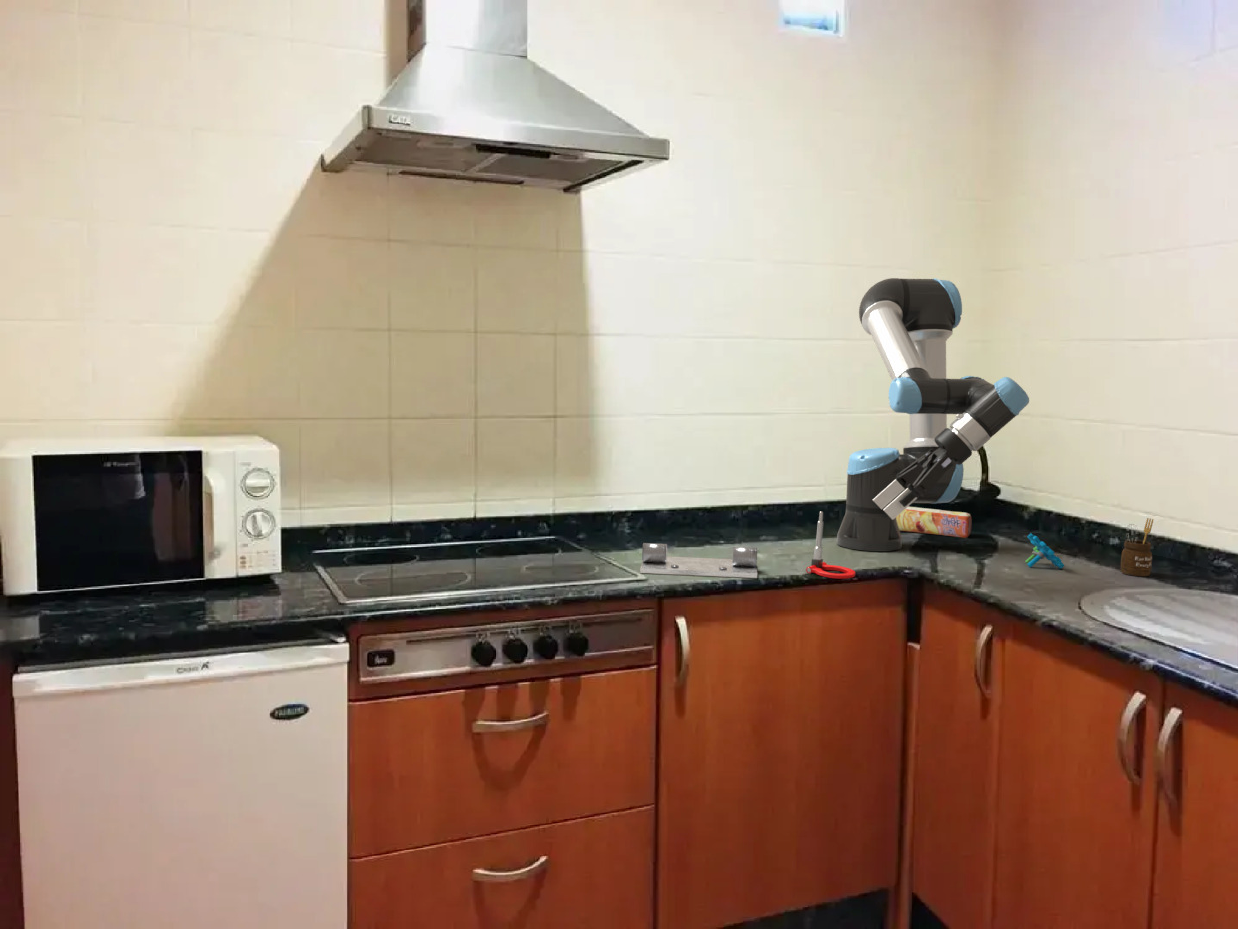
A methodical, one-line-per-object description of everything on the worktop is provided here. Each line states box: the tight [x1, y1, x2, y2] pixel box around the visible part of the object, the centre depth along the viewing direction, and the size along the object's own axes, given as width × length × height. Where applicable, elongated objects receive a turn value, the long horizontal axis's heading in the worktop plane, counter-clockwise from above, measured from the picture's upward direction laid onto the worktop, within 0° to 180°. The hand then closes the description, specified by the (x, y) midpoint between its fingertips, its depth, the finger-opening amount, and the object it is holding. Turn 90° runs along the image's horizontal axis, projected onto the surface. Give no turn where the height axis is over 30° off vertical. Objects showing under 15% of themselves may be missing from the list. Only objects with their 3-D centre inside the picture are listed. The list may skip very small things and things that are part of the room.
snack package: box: [896, 506, 973, 539], centre depth 266 cm, size 21×7×7 cm, turn 62°
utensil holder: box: [1120, 517, 1154, 577], centre depth 221 cm, size 6×6×12 cm
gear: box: [1025, 532, 1065, 570], centre depth 227 cm, size 11×6×10 cm
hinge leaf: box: [639, 542, 758, 579], centre depth 217 cm, size 13×24×5 cm, turn 84°
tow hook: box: [805, 511, 856, 580], centre depth 215 cm, size 8×13×9 cm
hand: (882, 509), depth 213 cm, fingers open, 13 cm apart
